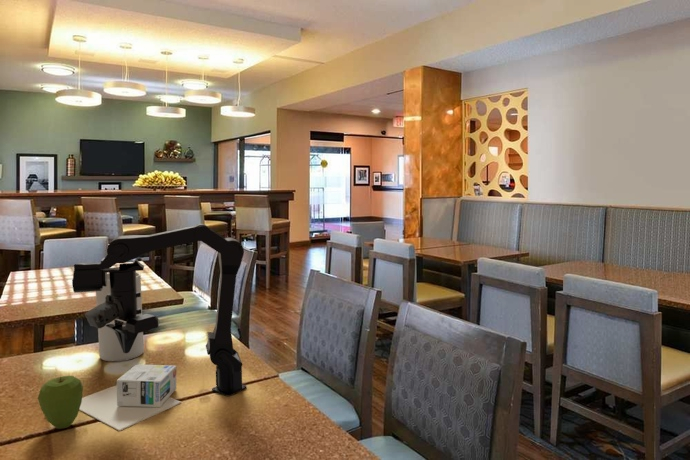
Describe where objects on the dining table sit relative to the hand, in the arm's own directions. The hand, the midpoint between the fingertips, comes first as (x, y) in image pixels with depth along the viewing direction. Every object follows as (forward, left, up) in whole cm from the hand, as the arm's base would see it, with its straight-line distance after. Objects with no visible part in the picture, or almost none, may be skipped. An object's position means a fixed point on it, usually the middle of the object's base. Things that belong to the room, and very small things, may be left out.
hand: (126, 352), depth 117 cm
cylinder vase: (+32, -18, -13) cm, 39 cm away
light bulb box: (+3, -1, -9) cm, 10 cm away
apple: (+2, +14, -13) cm, 20 cm away
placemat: (+1, 0, -13) cm, 13 cm away
